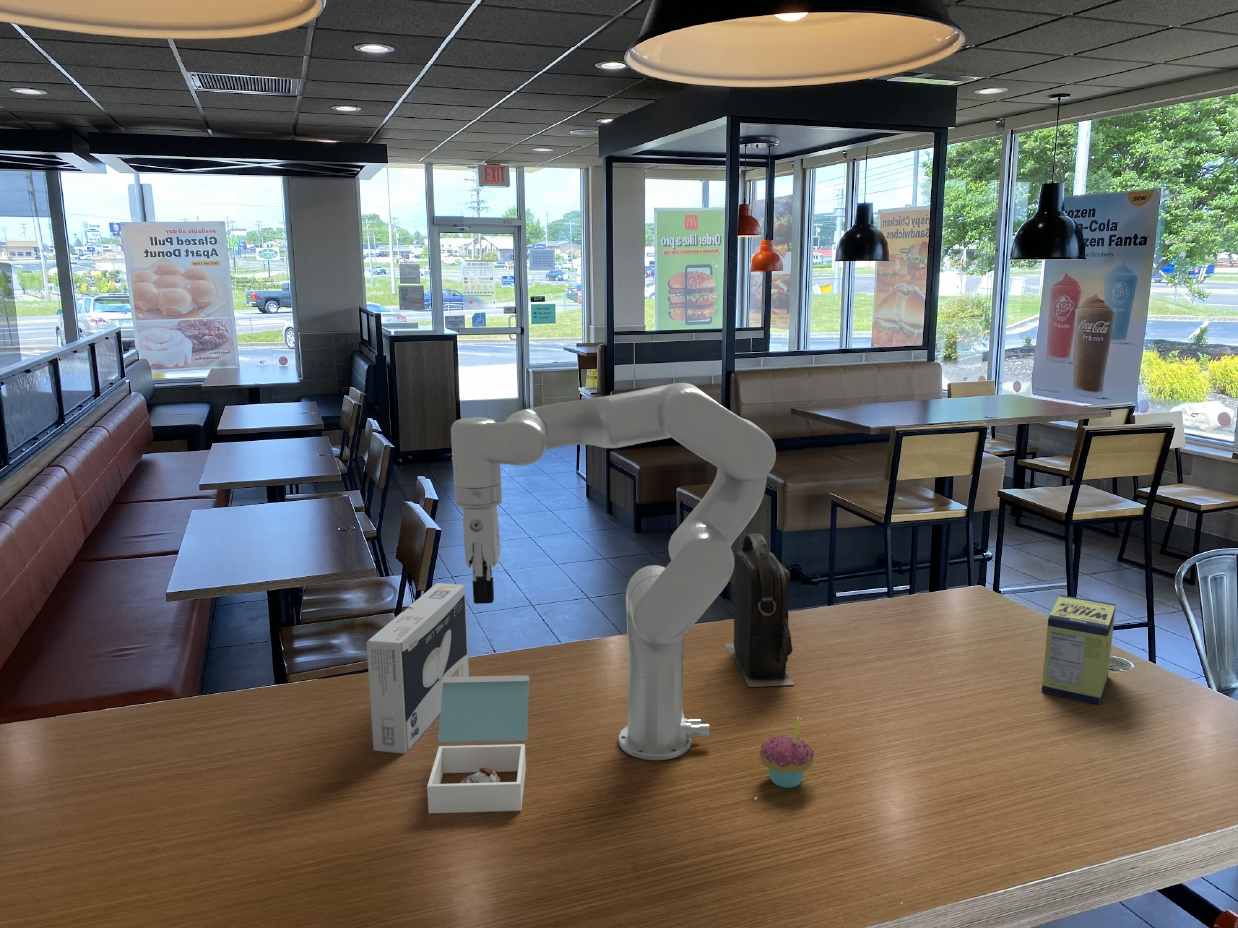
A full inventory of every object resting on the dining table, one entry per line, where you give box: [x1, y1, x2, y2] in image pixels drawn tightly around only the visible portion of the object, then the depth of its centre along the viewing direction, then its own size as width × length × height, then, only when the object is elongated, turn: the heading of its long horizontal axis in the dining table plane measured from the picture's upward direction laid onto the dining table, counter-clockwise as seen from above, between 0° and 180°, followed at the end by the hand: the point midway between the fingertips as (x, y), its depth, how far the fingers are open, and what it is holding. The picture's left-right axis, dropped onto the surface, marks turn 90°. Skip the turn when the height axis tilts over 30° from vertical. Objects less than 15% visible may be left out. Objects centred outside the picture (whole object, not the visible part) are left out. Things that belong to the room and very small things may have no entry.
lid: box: [437, 674, 530, 744], centre depth 154 cm, size 15×11×1 cm
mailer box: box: [426, 743, 527, 814], centre depth 145 cm, size 14×12×4 cm
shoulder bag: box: [723, 532, 795, 688], centre depth 189 cm, size 23×9×28 cm, turn 6°
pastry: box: [459, 767, 501, 783], centre depth 143 cm, size 8×8×5 cm
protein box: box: [1041, 594, 1117, 706], centre depth 180 cm, size 10×16×16 cm
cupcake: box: [758, 713, 815, 789], centre depth 146 cm, size 9×8×12 cm
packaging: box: [366, 582, 470, 755], centre depth 169 cm, size 30×6×20 cm, turn 168°
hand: (484, 601), depth 152 cm, fingers closed
